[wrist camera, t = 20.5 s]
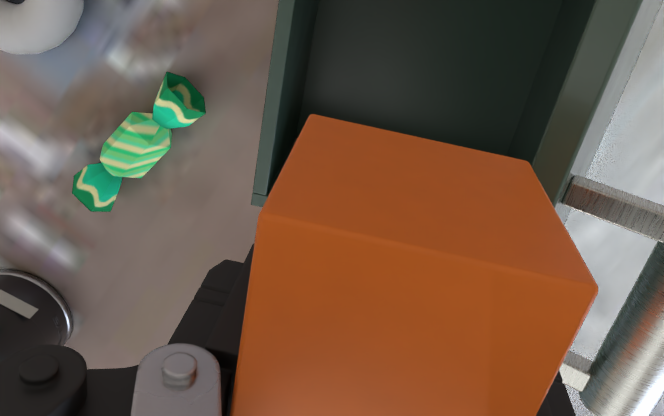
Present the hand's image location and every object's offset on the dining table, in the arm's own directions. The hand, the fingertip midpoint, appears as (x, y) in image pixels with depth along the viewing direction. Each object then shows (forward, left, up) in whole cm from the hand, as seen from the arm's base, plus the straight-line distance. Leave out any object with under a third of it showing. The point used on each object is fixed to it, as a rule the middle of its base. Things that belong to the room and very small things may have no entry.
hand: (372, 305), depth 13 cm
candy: (-17, -10, -29) cm, 35 cm away
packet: (0, 0, 0) cm, 0 cm away
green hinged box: (+2, 0, -28) cm, 28 cm away
